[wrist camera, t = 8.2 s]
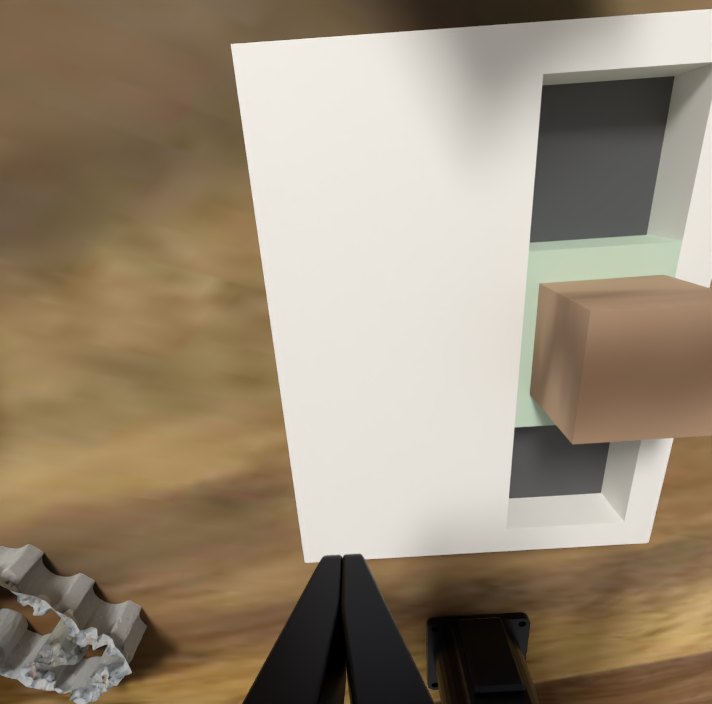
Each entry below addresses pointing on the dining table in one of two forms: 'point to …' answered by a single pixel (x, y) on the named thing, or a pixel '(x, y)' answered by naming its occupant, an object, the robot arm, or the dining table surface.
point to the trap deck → (466, 264)
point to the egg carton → (64, 630)
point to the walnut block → (624, 358)
